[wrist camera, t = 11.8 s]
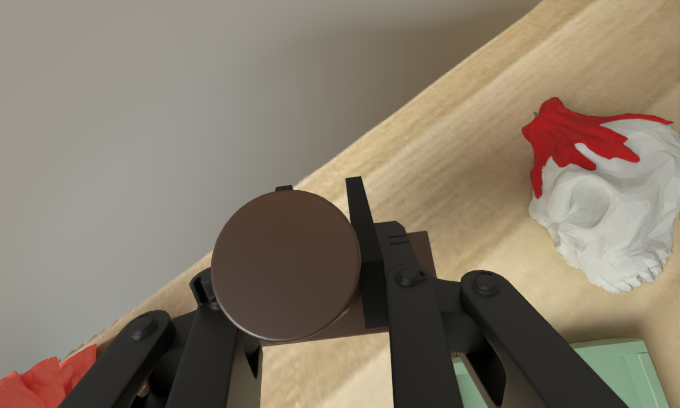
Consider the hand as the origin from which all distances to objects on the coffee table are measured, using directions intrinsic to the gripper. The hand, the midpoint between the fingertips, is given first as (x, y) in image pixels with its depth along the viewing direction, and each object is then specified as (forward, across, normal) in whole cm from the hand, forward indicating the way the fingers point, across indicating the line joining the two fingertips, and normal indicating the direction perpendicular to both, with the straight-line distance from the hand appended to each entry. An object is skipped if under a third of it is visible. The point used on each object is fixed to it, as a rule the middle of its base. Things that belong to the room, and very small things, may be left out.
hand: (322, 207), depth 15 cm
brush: (+1, 0, -6) cm, 6 cm away
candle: (+11, +21, -8) cm, 25 cm away
